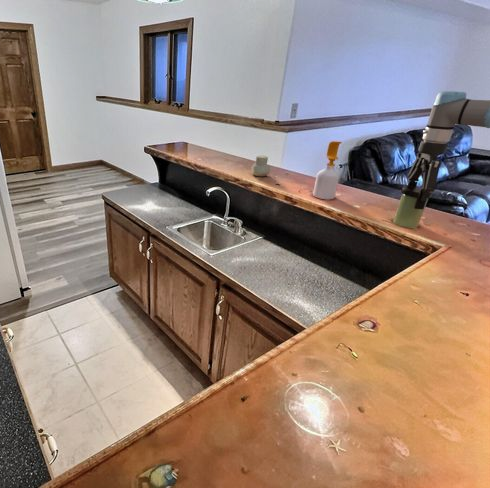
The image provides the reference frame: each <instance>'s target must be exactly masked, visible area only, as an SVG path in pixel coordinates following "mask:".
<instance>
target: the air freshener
mask: <svg viewBox="0 0 490 488" xmlns="http://www.w3.org/2000/svg"><path fill="white" fill-rule="evenodd" d="M268 158H269V156H267V155H261V154H260V155H257V156H256V157H255V163H254V164H251V167H250V169H251V170H250V172H251V174H252V175H253V176H255V177H266V176H268V175H269V174H270V172H271V169H270V166H269V164H268V161H269V160H268Z"/></svg>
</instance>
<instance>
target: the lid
mask: <svg viewBox="0 0 490 488" xmlns="http://www.w3.org/2000/svg"><path fill="white" fill-rule="evenodd" d="M420 189H422V186H419V185H417V186H412V185H408V184H406V185H403V186H402V188H401V191H400V193H401V195H402V194H404V195H407V196H411V197H415V198H418V195H419V192H420ZM433 194H434V192H430V193H429V196H428V199H430V198H432V196H433Z"/></svg>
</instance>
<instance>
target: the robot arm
mask: <svg viewBox="0 0 490 488" xmlns="http://www.w3.org/2000/svg"><path fill="white" fill-rule="evenodd" d="M456 125H457V126H458V125H459V126H470V127H479V128H486V129H490V99H470V98H467V93H466V91H456V90H455V91H454V90H453V91H452V90H449V91H448V90H444V91H440V92H438V94H437V95H436V98H435V100H434V102H433V105H432V107H431V110H430V114H429V117H428V120H427V124H426V126H425V129H424V130H423V131H422V134H423V135H422V140H421V141H420V143H419V146H418V149H417V151H418V153H417V154H416V156H415V159H414V161H413V164H412V166H411V168H410V170H409V172H408V174H407V176H406V177H407V178H408V183H407V185H412V186H418V183H419V182H420V179H419V178H420V177H421V176H422V185H421V187H422V189H420V192H419V195H418V198H417V201H416V203H415V206H414V209H424V206H425V204H426V201H427V198H428V196H429V193H430V192H433V193H434V192H435V190H436V185H437V181H438V176H439V171H440V168H441V165H442V161H441V160H438V157H439V156H442V155H445V153H446V151H447V148H448V143H449V142H450V141H451V138H452V135H453V132H454V129H455V126H456ZM428 199H429V198H428ZM427 202H428V201H427ZM426 205H427V204H426ZM425 207H426V206H425ZM424 210H425V209H424Z"/></svg>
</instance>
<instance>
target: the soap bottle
mask: <svg viewBox="0 0 490 488" xmlns="http://www.w3.org/2000/svg"><path fill="white" fill-rule="evenodd" d="M342 143H343V142H342V141H336V140H335V141H334V140H333V141H332V140H331V141H330V142H329V143H328V147H327V151H326V159H328V162H327V163H326V165H325V168H324V169H321V170H319V171H318V172H317V174H316V177H315V182H314V187H313V191H312V196H313V197H314V198H316V199H319V200H326V201H329V200H333V199H335V197H336V194H337V189H338V185H339V181H340V174H339V173H338V171H337V170H335V166H336V163H334V162H335V161H336V160H339V157H338V152H339V148H340V144H342Z"/></svg>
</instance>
